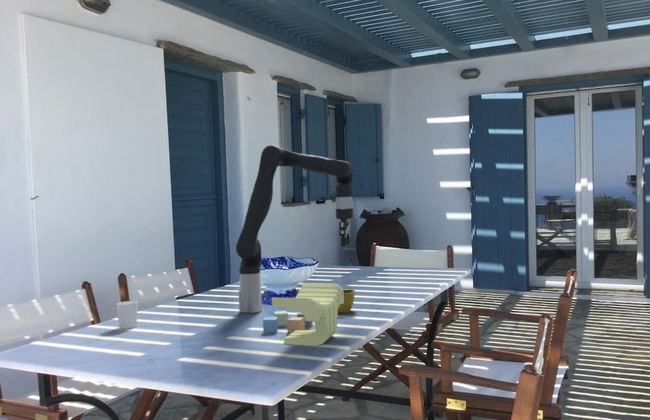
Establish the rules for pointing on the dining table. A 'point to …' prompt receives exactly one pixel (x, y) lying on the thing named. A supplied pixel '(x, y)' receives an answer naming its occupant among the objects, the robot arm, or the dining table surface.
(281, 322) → the sage block
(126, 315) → the white cup
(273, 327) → the blue block
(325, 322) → the slatted curved stool
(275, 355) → the dining table surface
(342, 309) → the flower pot
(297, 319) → the terracotta block
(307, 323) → the charcoal block
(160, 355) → the dining table surface
